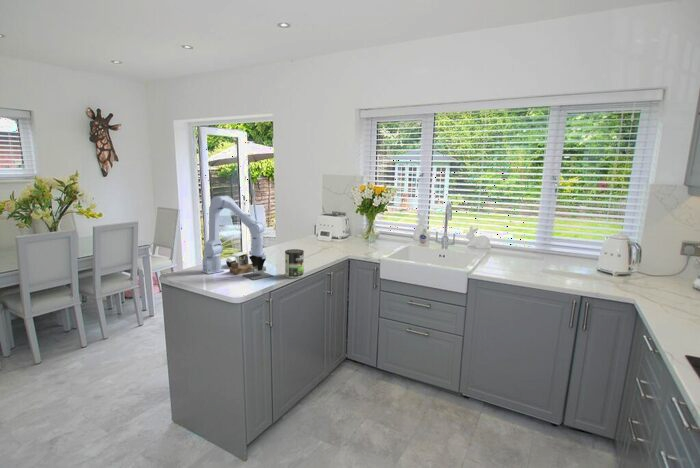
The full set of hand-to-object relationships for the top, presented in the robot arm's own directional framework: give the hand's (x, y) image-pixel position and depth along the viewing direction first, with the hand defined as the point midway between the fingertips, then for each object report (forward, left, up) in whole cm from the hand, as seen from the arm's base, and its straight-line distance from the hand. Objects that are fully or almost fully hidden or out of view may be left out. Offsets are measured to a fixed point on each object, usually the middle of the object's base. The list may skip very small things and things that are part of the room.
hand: (257, 269), depth 204 cm
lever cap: (0, 0, -1) cm, 1 cm away
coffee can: (+16, -12, -4) cm, 20 cm away
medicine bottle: (+7, +28, 0) cm, 29 cm away
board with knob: (0, +13, -4) cm, 14 cm away
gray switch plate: (0, 0, -4) cm, 4 cm away
